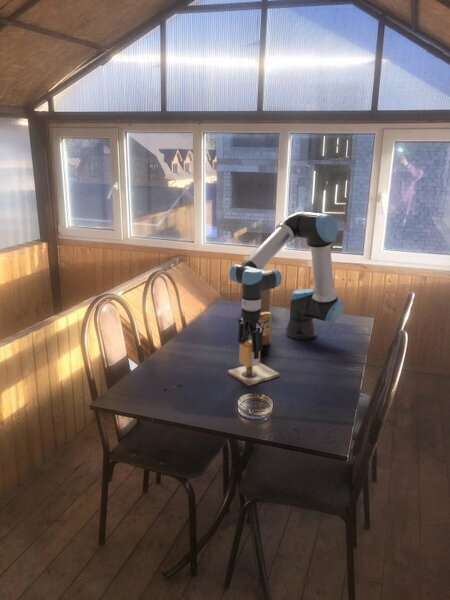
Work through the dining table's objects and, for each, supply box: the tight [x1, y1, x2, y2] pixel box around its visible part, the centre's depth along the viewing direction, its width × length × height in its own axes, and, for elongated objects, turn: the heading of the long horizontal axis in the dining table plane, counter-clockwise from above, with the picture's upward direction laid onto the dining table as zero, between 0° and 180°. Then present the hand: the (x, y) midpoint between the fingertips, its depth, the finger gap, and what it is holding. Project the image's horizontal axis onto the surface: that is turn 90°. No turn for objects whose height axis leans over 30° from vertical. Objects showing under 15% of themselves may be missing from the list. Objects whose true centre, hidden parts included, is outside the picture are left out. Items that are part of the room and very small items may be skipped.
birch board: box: [227, 362, 280, 387], centre depth 205 cm, size 16×14×7 cm
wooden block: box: [260, 289, 271, 312], centre depth 284 cm, size 10×10×20 cm
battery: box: [260, 333, 270, 357], centre depth 226 cm, size 4×7×10 cm, turn 65°
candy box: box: [250, 311, 272, 344], centre depth 237 cm, size 9×4×15 cm, turn 116°
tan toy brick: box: [238, 339, 261, 367], centre depth 200 cm, size 6×6×9 cm
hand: (249, 362), depth 202 cm, fingers closed on tan toy brick, 6 cm apart
